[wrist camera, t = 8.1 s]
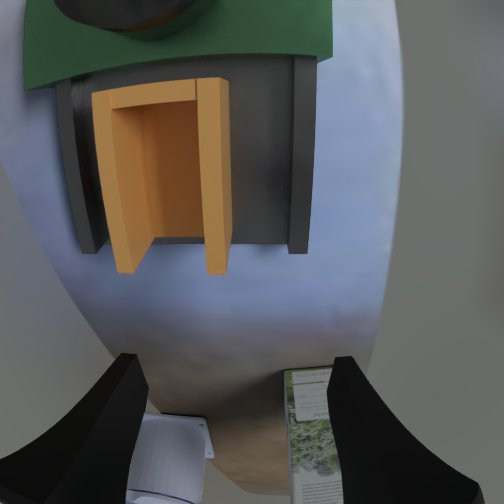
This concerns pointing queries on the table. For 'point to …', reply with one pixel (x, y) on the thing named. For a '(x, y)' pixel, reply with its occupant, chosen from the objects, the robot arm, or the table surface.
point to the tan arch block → (165, 166)
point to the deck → (182, 68)
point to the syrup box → (311, 438)
